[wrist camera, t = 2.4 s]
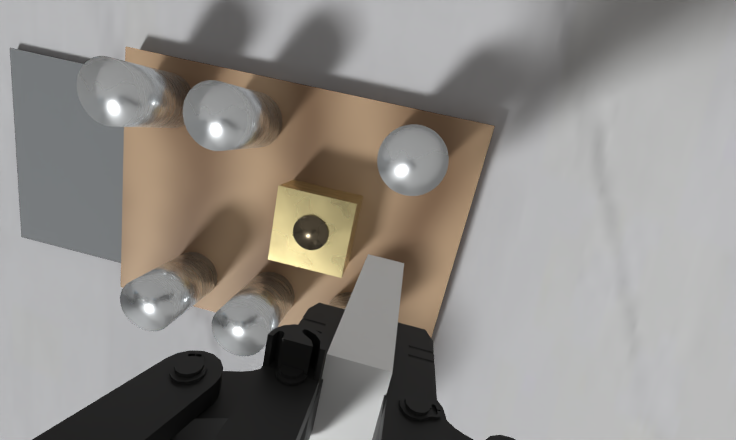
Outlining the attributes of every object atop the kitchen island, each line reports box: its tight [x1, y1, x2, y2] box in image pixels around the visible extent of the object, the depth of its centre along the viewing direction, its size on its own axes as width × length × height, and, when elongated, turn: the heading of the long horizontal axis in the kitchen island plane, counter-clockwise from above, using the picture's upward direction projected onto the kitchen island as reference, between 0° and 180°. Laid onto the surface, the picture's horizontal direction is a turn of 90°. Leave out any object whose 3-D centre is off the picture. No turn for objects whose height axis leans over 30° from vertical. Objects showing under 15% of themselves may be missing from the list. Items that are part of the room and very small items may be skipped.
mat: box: [10, 48, 124, 263], centre depth 24 cm, size 8×13×1 cm, turn 168°
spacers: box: [77, 56, 449, 356], centre depth 20 cm, size 18×14×4 cm
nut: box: [268, 180, 363, 278], centre depth 20 cm, size 4×4×3 cm
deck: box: [121, 47, 495, 337], centre depth 22 cm, size 22×16×1 cm
